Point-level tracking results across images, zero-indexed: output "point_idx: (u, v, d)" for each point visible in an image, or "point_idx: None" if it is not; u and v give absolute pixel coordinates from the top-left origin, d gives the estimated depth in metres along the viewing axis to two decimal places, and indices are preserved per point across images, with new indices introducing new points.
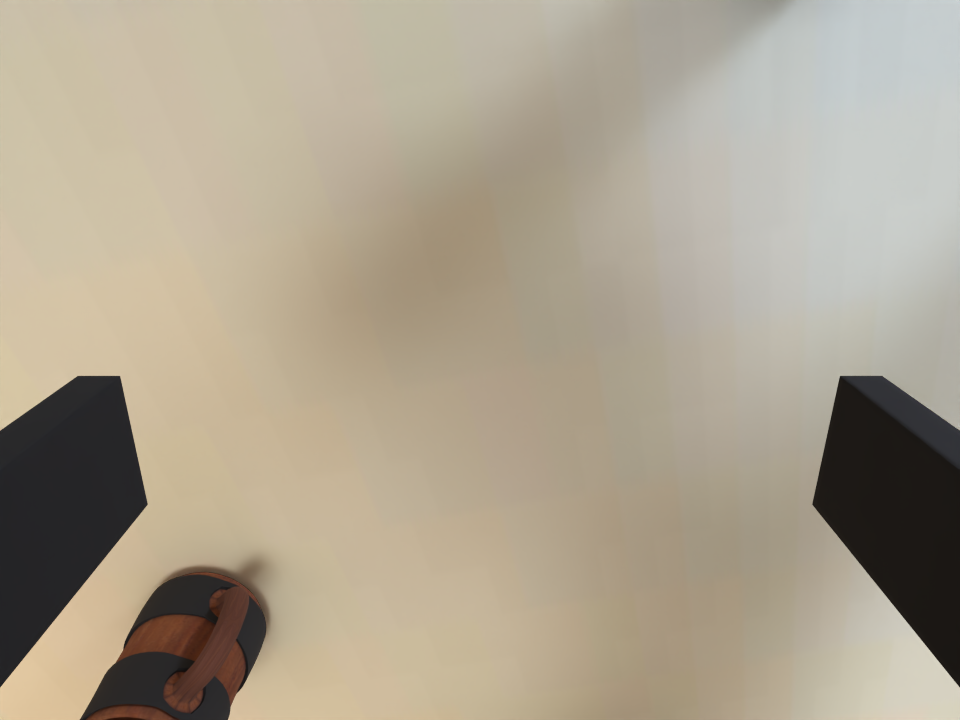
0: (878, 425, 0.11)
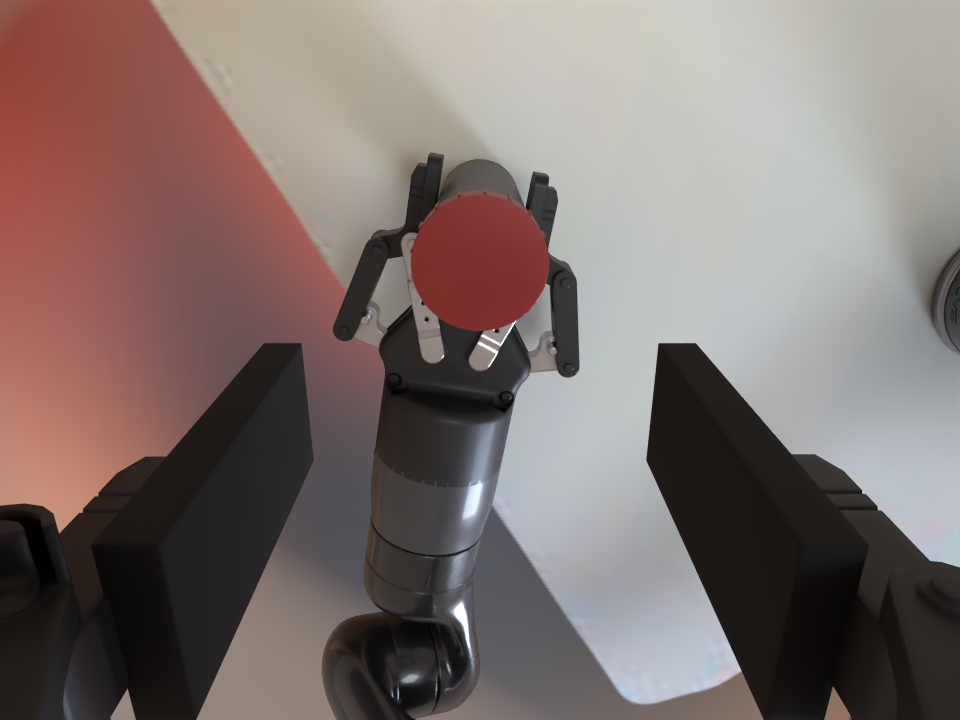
0: (674, 383, 0.12)
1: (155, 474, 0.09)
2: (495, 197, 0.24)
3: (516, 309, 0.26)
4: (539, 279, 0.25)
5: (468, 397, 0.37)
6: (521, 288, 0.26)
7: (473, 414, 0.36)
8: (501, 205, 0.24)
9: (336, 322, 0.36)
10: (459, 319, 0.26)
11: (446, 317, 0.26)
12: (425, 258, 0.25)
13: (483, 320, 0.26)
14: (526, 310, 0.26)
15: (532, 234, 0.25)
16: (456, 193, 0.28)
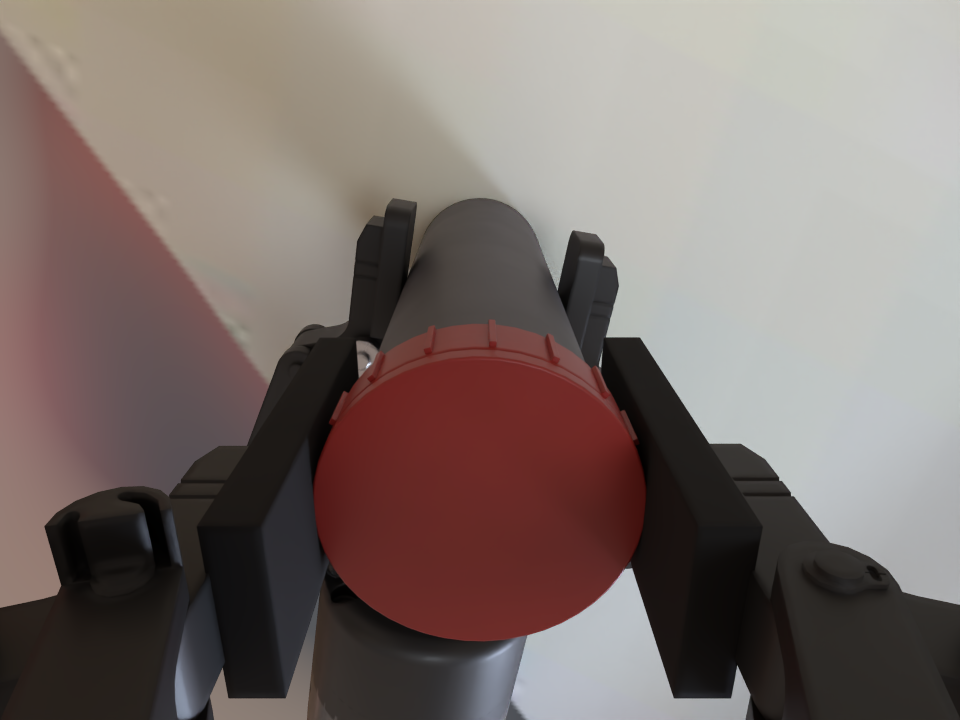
0: (614, 376, 0.13)
1: (243, 461, 0.09)
2: (519, 359, 0.10)
3: (565, 600, 0.11)
4: (622, 540, 0.11)
5: None
6: (578, 559, 0.11)
7: (469, 644, 0.21)
8: (534, 380, 0.10)
9: None
10: (432, 620, 0.11)
11: (402, 615, 0.11)
12: (347, 496, 0.10)
13: (488, 621, 0.11)
14: (588, 602, 0.11)
15: (610, 445, 0.10)
16: (430, 306, 0.13)
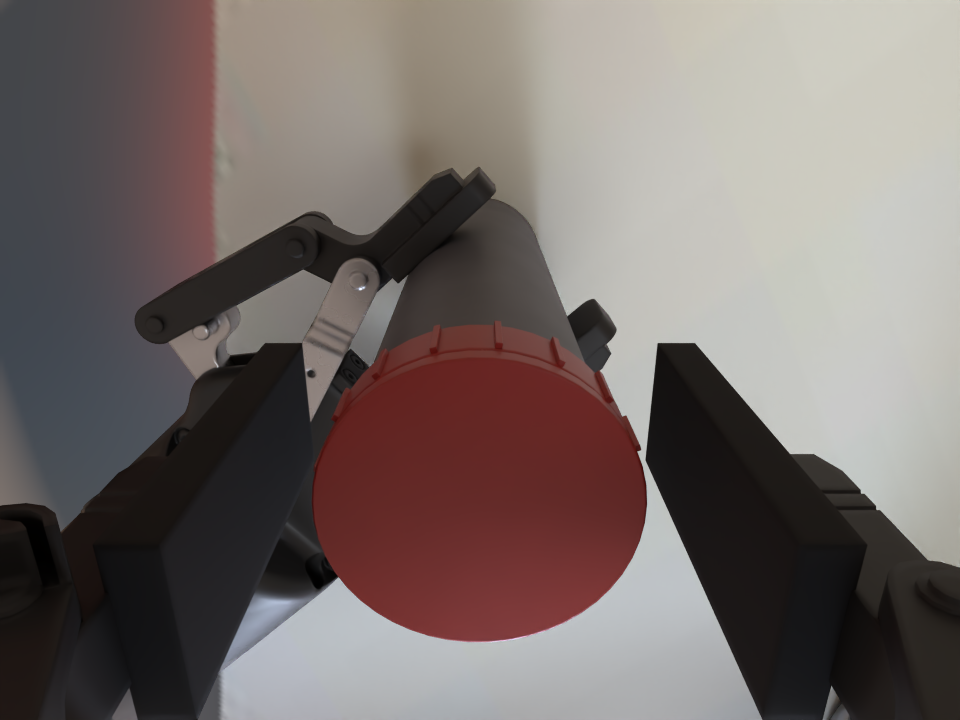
0: (673, 383, 0.12)
1: (157, 474, 0.09)
2: (347, 412, 0.10)
3: (621, 490, 0.10)
4: (584, 413, 0.10)
5: (281, 536, 0.22)
6: (581, 459, 0.10)
7: (271, 580, 0.20)
8: (369, 411, 0.10)
9: (151, 304, 0.19)
10: (570, 602, 0.11)
11: (549, 620, 0.11)
12: (404, 598, 0.11)
13: (601, 561, 0.11)
14: (638, 471, 0.10)
15: (471, 379, 0.10)
16: (506, 296, 0.13)
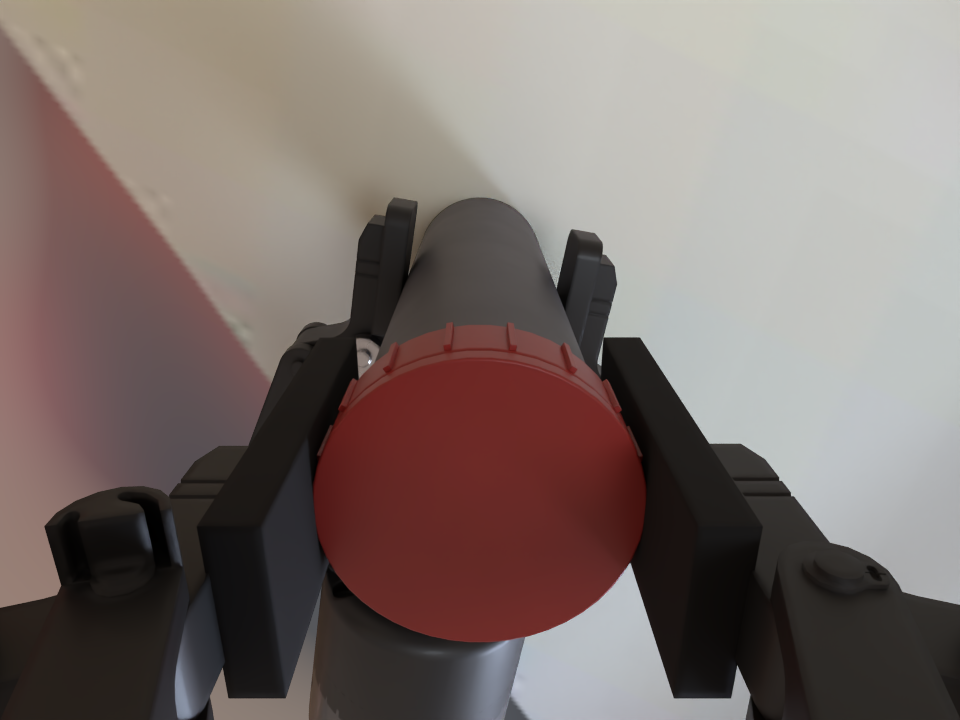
0: (614, 376, 0.13)
1: (242, 461, 0.09)
2: None
3: (579, 417, 0.10)
4: (489, 376, 0.10)
5: None
6: (520, 415, 0.10)
7: None
8: (325, 491, 0.10)
9: None
10: (621, 537, 0.11)
11: (617, 563, 0.11)
12: (482, 618, 0.11)
13: (617, 486, 0.10)
14: (579, 392, 0.10)
15: (377, 413, 0.10)
16: (431, 303, 0.13)
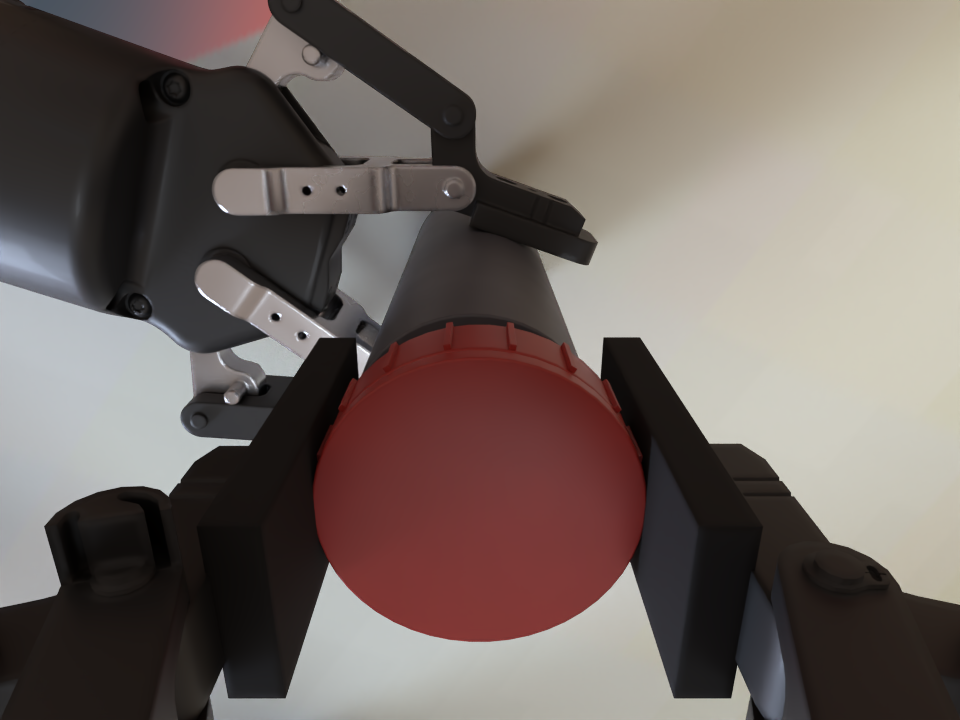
0: (614, 375, 0.13)
1: (243, 461, 0.09)
2: None
3: (578, 417, 0.10)
4: (489, 376, 0.10)
5: (136, 242, 0.19)
6: (520, 415, 0.10)
7: (97, 265, 0.17)
8: (325, 490, 0.10)
9: None
10: (620, 537, 0.11)
11: (617, 562, 0.11)
12: (481, 617, 0.11)
13: (616, 486, 0.10)
14: (578, 392, 0.10)
15: (376, 413, 0.10)
16: None
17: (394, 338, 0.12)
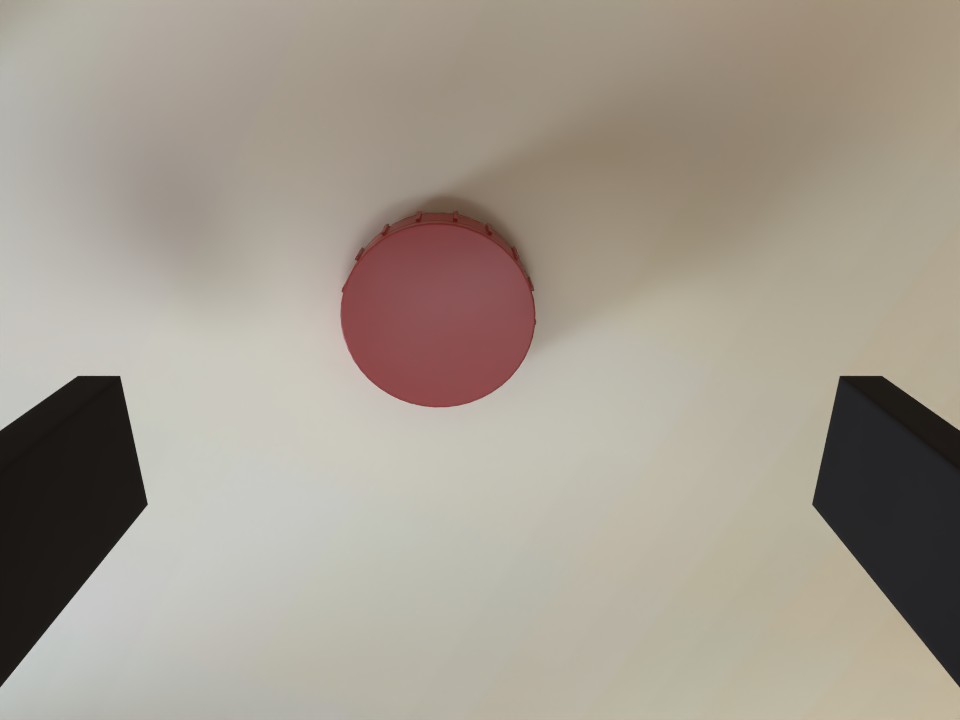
0: (878, 425, 0.11)
1: None
2: (341, 315, 0.18)
3: (493, 258, 0.17)
4: (441, 234, 0.17)
5: None
6: (459, 257, 0.17)
7: None
8: (348, 306, 0.18)
9: None
10: (521, 335, 0.18)
11: (520, 352, 0.18)
12: (441, 390, 0.19)
13: (517, 302, 0.18)
14: (492, 243, 0.17)
15: (378, 257, 0.17)
16: None
17: None
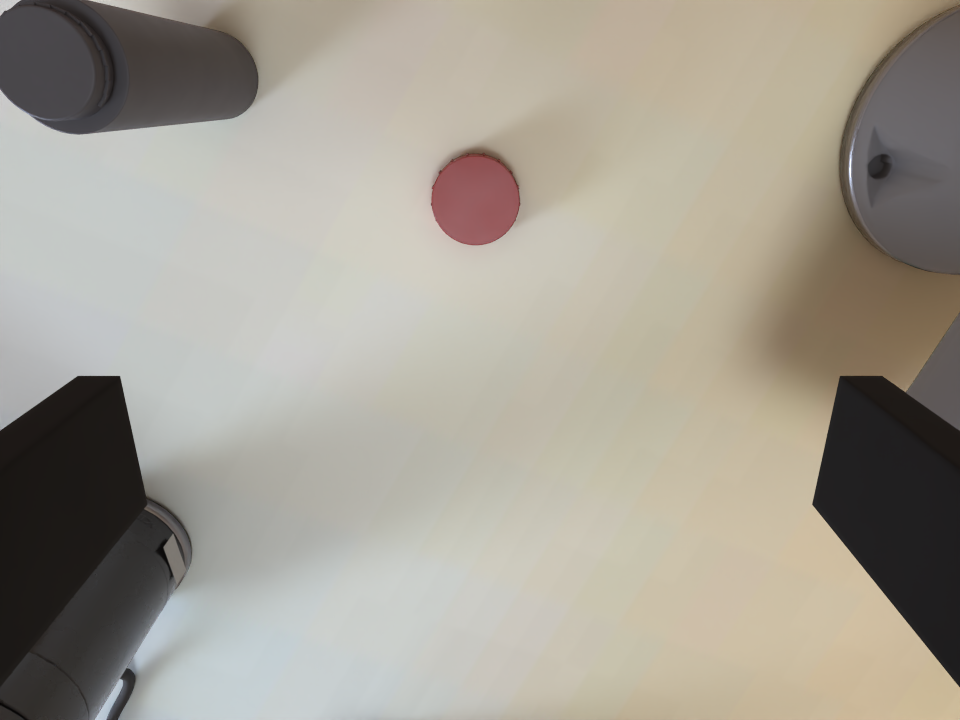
0: (878, 425, 0.11)
1: None
2: None
3: (500, 172, 0.39)
4: (477, 160, 0.39)
5: None
6: (485, 171, 0.39)
7: None
8: (435, 194, 0.39)
9: None
10: (513, 209, 0.40)
11: (512, 217, 0.40)
12: (476, 236, 0.40)
13: (511, 193, 0.39)
14: (500, 165, 0.39)
15: (449, 171, 0.39)
16: (149, 50, 0.26)
17: (11, 8, 0.24)
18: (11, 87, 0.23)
